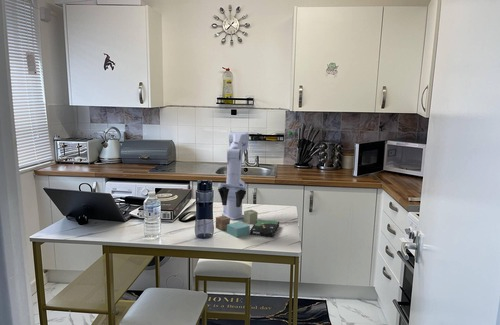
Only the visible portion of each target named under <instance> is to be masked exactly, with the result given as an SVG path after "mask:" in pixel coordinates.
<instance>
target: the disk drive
mask: <svg viewBox="0 0 500 325" xmlns="http://www.w3.org/2000/svg"><path fill="white" fill-rule="evenodd" d="M279 228H280V221H276V220H274V221H273V220H264V219H257V221H256V223H253V226H251V227H250V234H249V235H250V236H256V237H257V236H258V237H263V238H264V237H266V238H272V239H273V238H274V237H275V234H277V231H278V229H279Z"/></svg>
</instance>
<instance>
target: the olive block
mask: <svg viewBox="0 0 500 325" xmlns="http://www.w3.org/2000/svg"><path fill="white" fill-rule="evenodd" d="M258 213H259V212H258V211H256V210H253V209H248V210H244V211H243V215H244V218H243V223H244V222H245V223H246V224H248V225H250V224H255V223H256V221H258Z"/></svg>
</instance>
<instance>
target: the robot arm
mask: <svg viewBox="0 0 500 325" xmlns="http://www.w3.org/2000/svg"><path fill="white" fill-rule="evenodd" d="M228 133H229V134H228V144H229V146H228V147H229V149H227V150H226V165H227V168H226V180H225V181H226V183H223V182H218V183H217V188H218V189H217V191H218V193H219V196H220V199H221V203H222V204H221V205H222V206H223V207H222V208H223V210H222V212H223V213H221V216H226V217H228V218H230V220H232V221H235V220H238V219H244V214H243V200H244V199H245V198H246V194H247V190H248V189H247V187H246V182H245V181H244V180H242V179H241V178H242V164H243V155H244V152H246V151H247V150H248V148H249V141H250V140H249V138H250V133H249V131H229V132H228Z"/></svg>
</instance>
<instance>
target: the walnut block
mask: <svg viewBox="0 0 500 325" xmlns="http://www.w3.org/2000/svg"><path fill="white" fill-rule="evenodd" d="M227 224H231V219H230V218H228V217H226V216H223V215H219V216H216V217H215V229H217V230H219V231H222V232H223V231H227Z"/></svg>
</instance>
